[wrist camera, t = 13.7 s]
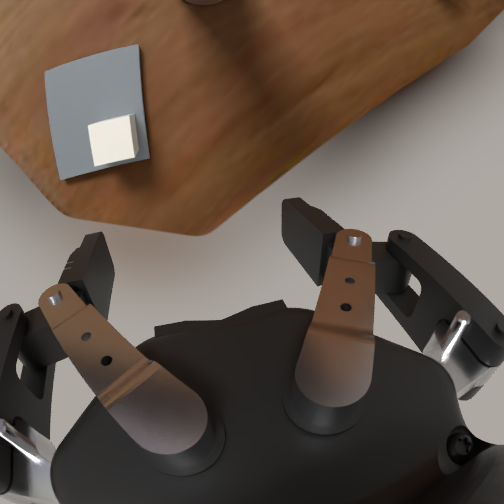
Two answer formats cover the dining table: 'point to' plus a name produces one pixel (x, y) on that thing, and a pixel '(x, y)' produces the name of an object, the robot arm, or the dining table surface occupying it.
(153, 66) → the dining table surface
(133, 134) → the cream rounded cube
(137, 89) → the base plate
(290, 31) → the dining table surface
